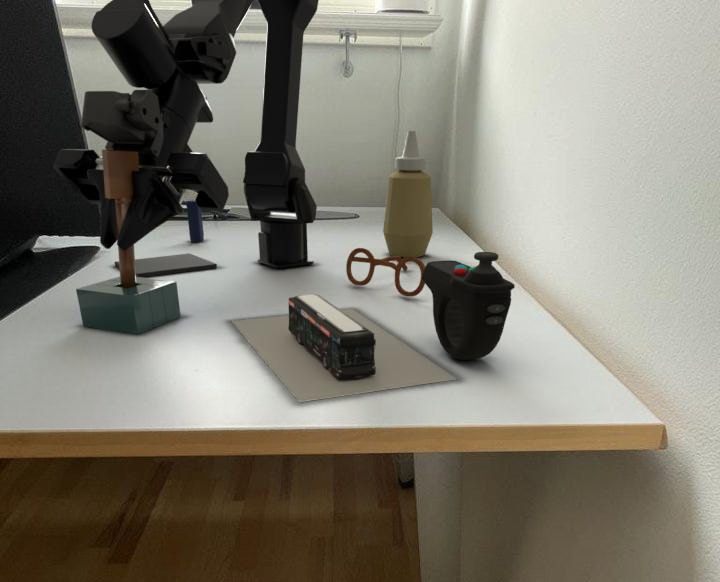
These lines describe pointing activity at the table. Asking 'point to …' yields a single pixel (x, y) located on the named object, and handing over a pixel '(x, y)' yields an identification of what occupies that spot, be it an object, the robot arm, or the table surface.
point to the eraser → (195, 221)
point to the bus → (334, 352)
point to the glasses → (384, 262)
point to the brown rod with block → (121, 202)
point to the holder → (129, 305)
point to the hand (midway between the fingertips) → (112, 247)
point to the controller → (468, 305)
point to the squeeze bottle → (408, 204)
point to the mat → (170, 265)
